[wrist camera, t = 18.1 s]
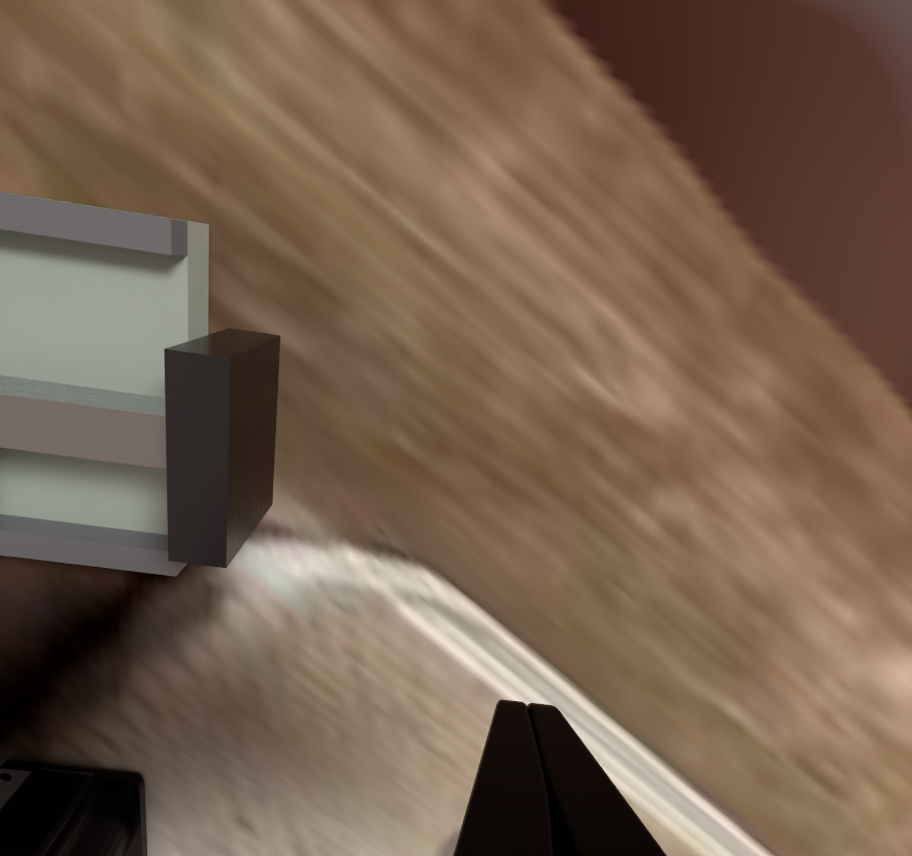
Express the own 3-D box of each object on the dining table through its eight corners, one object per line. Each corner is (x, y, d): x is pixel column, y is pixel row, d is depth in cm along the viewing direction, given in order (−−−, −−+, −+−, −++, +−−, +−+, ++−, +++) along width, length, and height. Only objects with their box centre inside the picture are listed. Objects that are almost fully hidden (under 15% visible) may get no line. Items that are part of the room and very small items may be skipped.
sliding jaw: (271, 540, 19) (224, 614, 15) (-73, 497, 19) (-218, 562, 15) (283, 287, 16) (229, 296, 12) (-120, 226, 16) (-312, 215, 12)
